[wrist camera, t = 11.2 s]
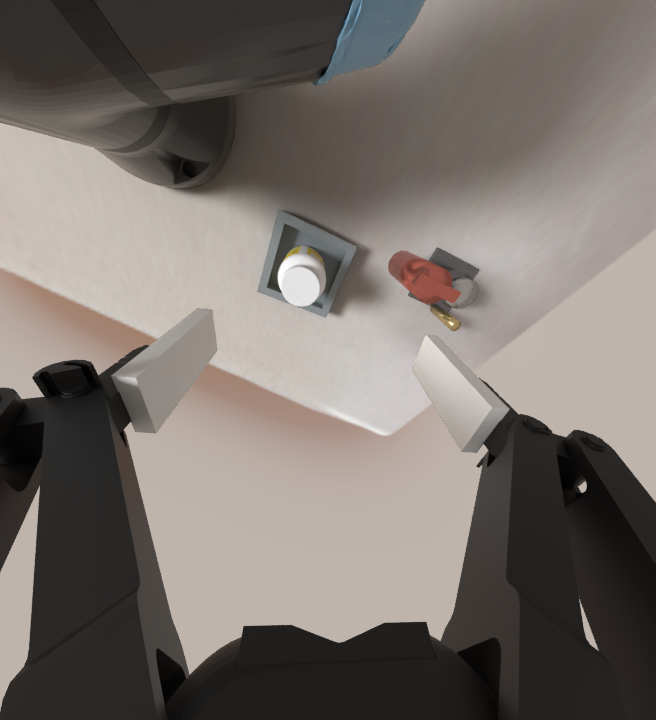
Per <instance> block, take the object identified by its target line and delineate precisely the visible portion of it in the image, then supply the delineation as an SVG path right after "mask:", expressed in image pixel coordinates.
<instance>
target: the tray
mask: <svg viewBox="0 0 656 720" xmlns="http://www.w3.org/2000/svg"><path fill="white" fill-rule="evenodd" d="M300 245H306V246H310V247H312V248H314V249H315V250H317V251H318V252H319V254H320V255H321V257H322V259H323V261H324V267H325V273H326V285H325V289H324V291H323V293H322V294H321V295H320V297H319V298H317V299H316V300H315V301H314V302H313V303H312V304H310V305H308V306H304V307H300V306H297V307H299V308H302V309H305V310H307V311H310V312H312V313H315V314H318V315H320V316H323V317H327V315H328V312H329V310H330V308H331V305H332V303H333V301H334V299H335V296H336V294H337V292H338V290H339V287H340V285H341V283H342V281H343V278H344V276H345V274H346V272H347V269H348V267H349V265H350V263H351V260H352V258H353V256H354V254H355V251H356V249H357V247H356V246H355V245H354V244H352V243H350V242H348V241H346V240H344V239H342V238H339V237H337V236H335V235H333V234H331V233H329V232H327V231H325V230H323V229H321V228H319V227H317V226H314V225H312V224H310V223H308V222H306V221H304V220H302V219H300V218H298V217H296V216H294V215H292V214H289V213H287V212H285V211H283V210H278V214H277V218H276V221H275V225H274V229H273V233H272V237H271V241H270V245H269V249H268V252H267V256H266V260H265V264H264V268H263V272H262V276H261V280H260V283H259V287H258V291H257V292H260V293H262V294H265V295H268V296H270V297H273V298H276V299H278V300H281V301H284V302H286V303H289V302H288V301H287V300H286V299H285V298H284V296H283V294H282V291H281V289H280V287H279V284H278V271H279V268H280V266H281V264H282V262H283V260H284V259H285V257H286V255H287V254H288V252H289V251H290V250H291V249H293V248H294V247H297V246H300ZM289 304H291V303H289ZM291 305H293V304H291ZM294 306H295V305H294Z"/></svg>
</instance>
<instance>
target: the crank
mask: <svg viewBox="0 0 656 720" xmlns="http://www.w3.org/2000/svg"><path fill="white" fill-rule="evenodd" d="M388 269H389V272H390V274H391V275H392V276H393V277H394V278H395V279H396V280H398V281H399V282H400V283H401V284H402V285H403V286H404V287H406V288H407V289H408V290H409V291H410V292H411V293H412V294H413V295H415V296H416V297H417V298H418V299H419V300H420V301H422V302H423V303H426V304H433V303H436V302H439V301H441V300H442V299H444V301H445V302H446V303H447V304H449V305H450V306H452V307H453V308H456V309H461V308H464V307H467V306H468V305H470V304H471V303H472V302H473V301H474V300H475V298H476V296H477V294H478V286H477V284H476V283H475V282H474V281H472V280H470V279H467V278H465V277H457V278H454V279H452V276H451V274H450V272H449V271H448V270H446V269H444V268H442V267H440V266H438V265H436V264H434V263H431V262H429V261H427V260H425V259H423V258H421V257H418V256H416V255H414V254H412V253H410V252H408V251H399V252H397V253H396V254H394V255H393V256H392V258H391V259H390V261H389V265H388Z"/></svg>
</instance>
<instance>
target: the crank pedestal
mask: <svg viewBox="0 0 656 720" xmlns="http://www.w3.org/2000/svg"><path fill="white" fill-rule="evenodd" d="M429 262H431V263H434V264H436V265H438V266H440V267H442V268H444V269H446V270H448V271H449V272H450V274H451V276H452V279H454V278H457V277H465V278H467V279H470V280H472V278H473V277H474V275H475V274H476V273H477V271H478V270H479V269H477V268H475V267H473V266H472V265H470V264H468V263H466V262H464V261H462V260H460V259H458V258H456V257H455V256H453V255H451V254H449V253H447V252H445V251H443V250H441V249H439V248H436V250H435V252H434V253H433V255H432V257H431V258H430V260H429ZM472 281H473V280H472ZM408 296H410V297H412V298H414V299H416V300H419V299H418V298H417V297H416V296H415V295H413V294H412V293H411V292H410V293H409V294H408ZM419 301H420V300H419ZM421 302H422V301H421ZM425 304H426V303H425ZM427 305H430V306H431V308H430V311H431V312H432V313H433V314H434V315H435V316H436V317H437V318H438V319H439V320H441V321H442V322H443V323H444V324H445V325H446V326H447V327H448V328H449V329H451V330H452V331H456V330H458V329H459V328H460V327H461V323H460V322H459V321H458V320H457V319H455V318H454V317H453V316H451V315H450V314H449V313H448V311H449V310H450V308H451V307H452V306H450V305H449V304H447V303H446V302H445V301H444V299H442V300H441V301H439V302H436V303H433V304H427Z"/></svg>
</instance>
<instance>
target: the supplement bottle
mask: <svg viewBox="0 0 656 720" xmlns="http://www.w3.org/2000/svg"><path fill="white" fill-rule="evenodd" d="M278 284H279V287H280V289H281V291H282V294H283V296H284V298H285V299H286V300H287V301H288V302H289V303H291V304H293V305H295V306H300V307H304V306H308V305H310V304H312V303H313V302H314V301H315V300H316V299H317V298H319V297H320V295H321V294H322V293H323V291H324V289H325V285H326V273H325V267H324V261H323V259H322V257H321V255H320V254H319V252H318V251H317V250H315V249H314V248H312V247H310V246H306V245H300V246H297V247H294V248H293V249H291V250H290V251H289V252H288V254H287V255H286V257H285V259H284V260H283V262H282V264H281V266H280V268H279V271H278Z"/></svg>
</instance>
